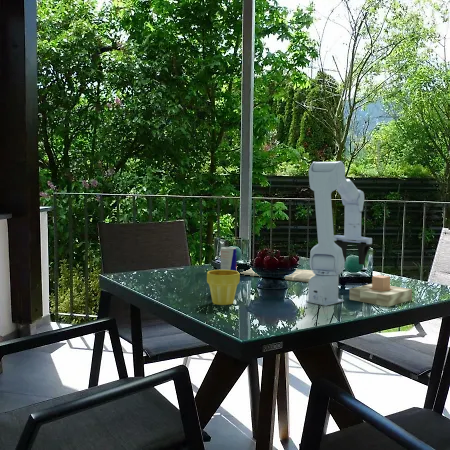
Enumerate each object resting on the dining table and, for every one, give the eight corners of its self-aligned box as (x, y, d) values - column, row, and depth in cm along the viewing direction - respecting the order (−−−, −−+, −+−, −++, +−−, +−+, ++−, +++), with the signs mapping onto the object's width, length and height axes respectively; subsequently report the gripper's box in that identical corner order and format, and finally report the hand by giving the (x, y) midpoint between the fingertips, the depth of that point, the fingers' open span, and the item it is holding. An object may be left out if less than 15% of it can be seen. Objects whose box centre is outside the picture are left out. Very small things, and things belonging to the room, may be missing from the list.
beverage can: (235, 291, 193) (235, 248, 192) (219, 291, 194) (219, 248, 193) (237, 288, 198) (237, 246, 197) (222, 288, 200) (222, 246, 198)
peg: (382, 300, 177) (383, 278, 176) (371, 298, 180) (372, 276, 179) (389, 298, 179) (390, 276, 179) (378, 296, 182) (379, 275, 182)
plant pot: (245, 304, 174) (245, 273, 173) (216, 308, 169) (216, 276, 168) (230, 298, 183) (229, 268, 182) (201, 301, 178) (201, 271, 177)
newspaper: (228, 275, 229) (228, 268, 229) (252, 268, 245) (252, 262, 245) (311, 284, 209) (311, 277, 208) (331, 276, 225) (331, 269, 224)
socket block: (387, 306, 170) (388, 295, 169) (349, 299, 180) (349, 288, 180) (411, 299, 179) (412, 289, 179) (374, 293, 189) (374, 283, 189)
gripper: (377, 224, 191) (376, 264, 193) (342, 222, 202) (342, 259, 203) (365, 225, 187) (364, 266, 188) (330, 223, 198) (330, 261, 199)
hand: (352, 262), depth 195 cm, fingers open, 7 cm apart
